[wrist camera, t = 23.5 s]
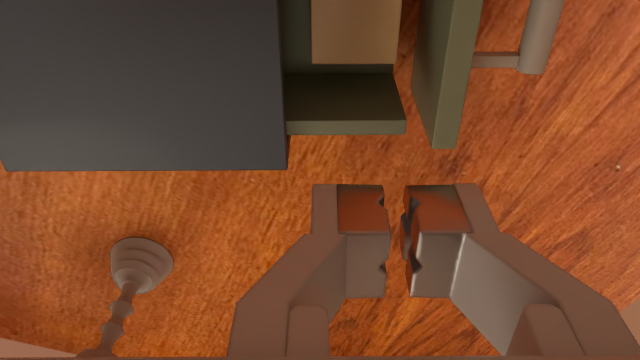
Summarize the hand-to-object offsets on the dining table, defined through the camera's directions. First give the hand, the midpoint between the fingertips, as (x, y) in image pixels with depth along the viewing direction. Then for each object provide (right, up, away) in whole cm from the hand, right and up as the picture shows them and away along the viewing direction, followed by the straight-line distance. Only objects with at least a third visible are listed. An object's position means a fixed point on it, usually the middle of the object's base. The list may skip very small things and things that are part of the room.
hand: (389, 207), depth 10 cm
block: (0, +10, +14) cm, 17 cm away
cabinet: (-10, +11, +15) cm, 22 cm away
